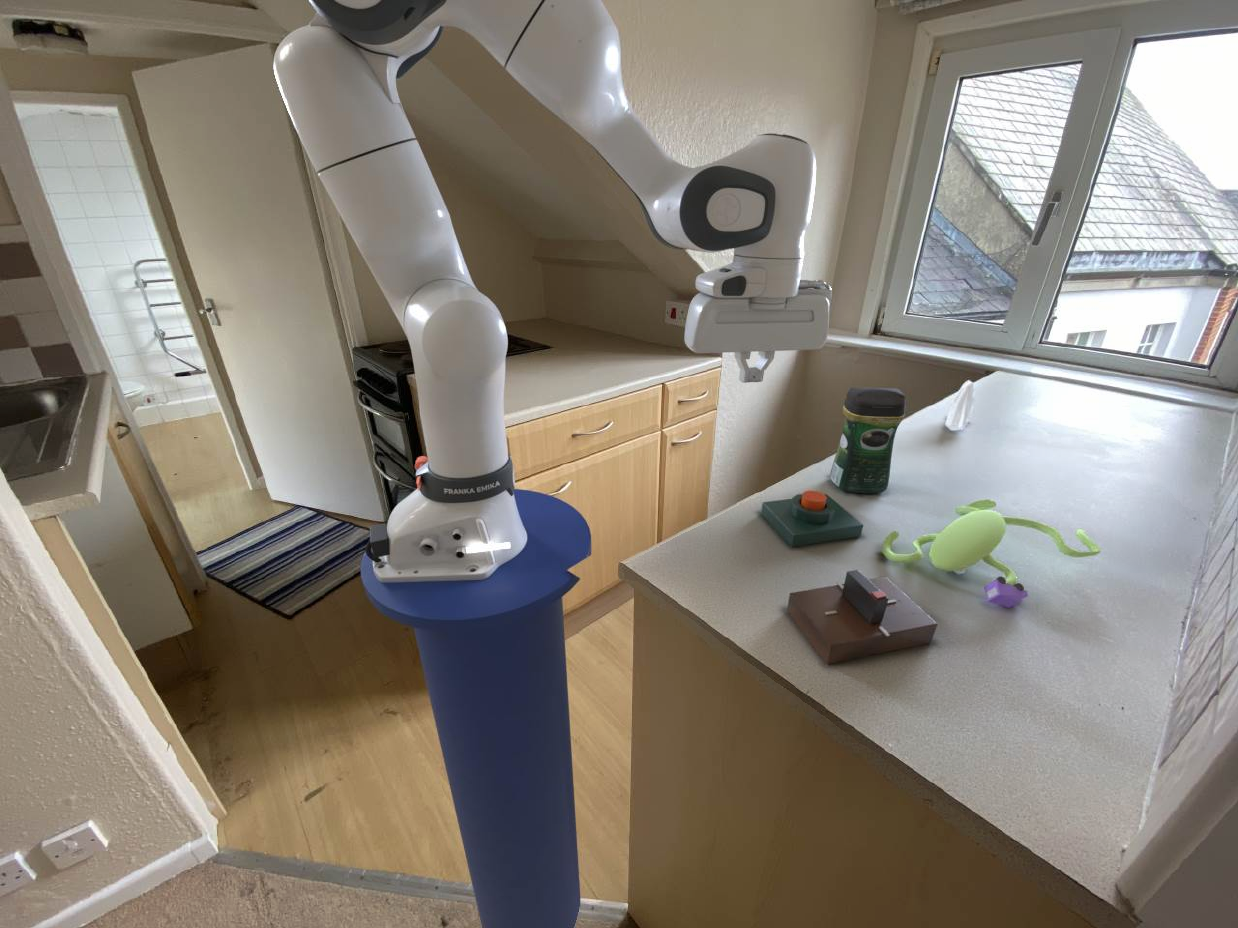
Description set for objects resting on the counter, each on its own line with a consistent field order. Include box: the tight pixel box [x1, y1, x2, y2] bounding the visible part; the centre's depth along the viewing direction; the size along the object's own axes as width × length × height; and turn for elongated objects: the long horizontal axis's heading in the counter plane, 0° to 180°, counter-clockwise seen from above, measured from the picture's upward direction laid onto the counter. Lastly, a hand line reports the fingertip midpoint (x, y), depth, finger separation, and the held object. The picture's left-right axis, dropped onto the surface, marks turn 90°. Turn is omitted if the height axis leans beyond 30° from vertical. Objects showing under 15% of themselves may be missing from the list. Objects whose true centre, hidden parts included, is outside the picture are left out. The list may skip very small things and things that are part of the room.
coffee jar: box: [829, 387, 907, 494], centre depth 94 cm, size 10×8×19 cm
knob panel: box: [786, 576, 938, 665], centre depth 65 cm, size 14×10×3 cm
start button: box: [801, 490, 826, 511], centre depth 84 cm, size 4×4×2 cm
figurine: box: [881, 499, 1102, 608], centre depth 76 cm, size 18×27×6 cm
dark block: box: [842, 569, 888, 624], centre depth 63 cm, size 6×2×4 cm, turn 14°
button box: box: [760, 493, 864, 548], centre depth 85 cm, size 12×10×4 cm
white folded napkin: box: [944, 379, 976, 432], centre depth 121 cm, size 12×4×11 cm, turn 144°
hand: (750, 381), depth 76 cm, fingers closed
